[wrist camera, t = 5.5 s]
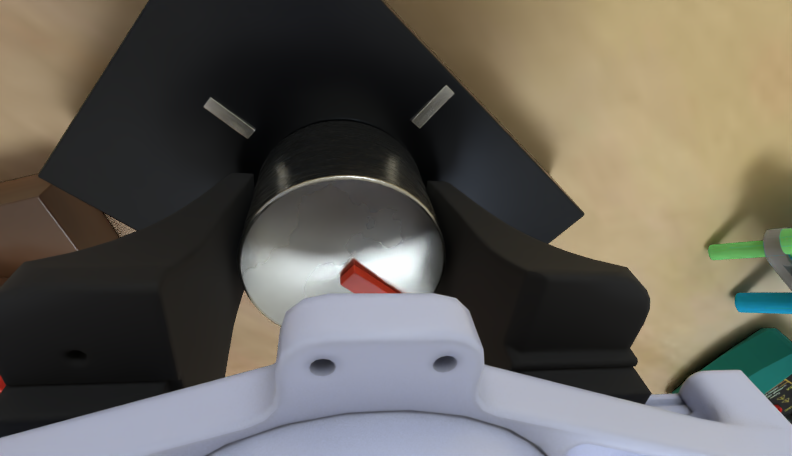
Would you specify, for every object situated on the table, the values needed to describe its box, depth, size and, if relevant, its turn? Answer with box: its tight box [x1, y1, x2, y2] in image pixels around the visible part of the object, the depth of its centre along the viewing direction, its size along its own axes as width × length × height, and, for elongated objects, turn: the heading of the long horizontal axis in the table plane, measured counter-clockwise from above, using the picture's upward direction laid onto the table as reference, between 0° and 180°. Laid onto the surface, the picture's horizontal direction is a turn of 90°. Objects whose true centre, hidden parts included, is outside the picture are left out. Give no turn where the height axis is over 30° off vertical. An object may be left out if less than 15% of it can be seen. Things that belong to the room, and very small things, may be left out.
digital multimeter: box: [672, 328, 792, 424], centre depth 28 cm, size 7×15×3 cm, turn 54°
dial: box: [237, 121, 446, 327], centre depth 13 cm, size 5×5×4 cm
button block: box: [0, 174, 119, 287], centre depth 17 cm, size 11×8×4 cm
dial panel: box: [38, 0, 584, 244], centre depth 16 cm, size 14×10×3 cm
